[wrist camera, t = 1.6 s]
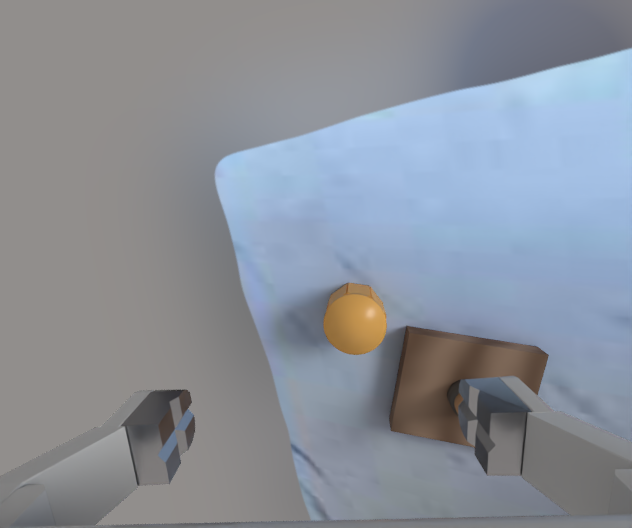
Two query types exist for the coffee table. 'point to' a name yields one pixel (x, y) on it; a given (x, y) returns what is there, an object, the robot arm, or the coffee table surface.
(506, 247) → the coffee table surface
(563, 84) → the coffee table surface
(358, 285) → the domed octagonal prism
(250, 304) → the coffee table surface
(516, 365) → the wooden peg stand
